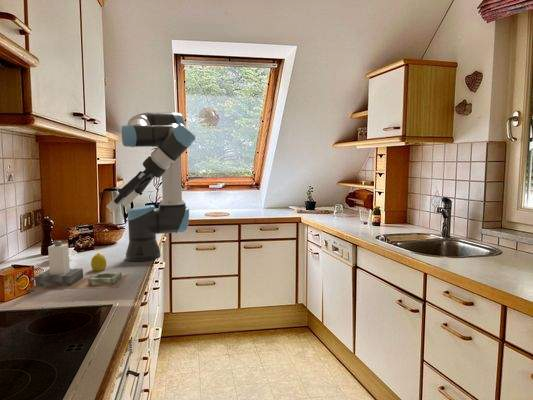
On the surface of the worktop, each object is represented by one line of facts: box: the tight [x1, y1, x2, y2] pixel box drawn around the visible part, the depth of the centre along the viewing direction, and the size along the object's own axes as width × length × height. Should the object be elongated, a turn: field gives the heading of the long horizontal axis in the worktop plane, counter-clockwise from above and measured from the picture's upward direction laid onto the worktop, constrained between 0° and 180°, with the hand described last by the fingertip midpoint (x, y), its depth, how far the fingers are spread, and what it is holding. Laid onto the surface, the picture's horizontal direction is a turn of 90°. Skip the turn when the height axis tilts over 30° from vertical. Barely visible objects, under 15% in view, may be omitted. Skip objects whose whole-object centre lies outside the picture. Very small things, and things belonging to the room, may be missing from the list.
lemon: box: [90, 252, 107, 272], centre depth 164 cm, size 6×6×8 cm
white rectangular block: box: [47, 240, 71, 275], centre depth 148 cm, size 5×4×14 cm
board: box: [27, 267, 133, 294], centre depth 148 cm, size 30×16×5 cm, turn 90°
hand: (116, 207), depth 146 cm, fingers open, 13 cm apart
